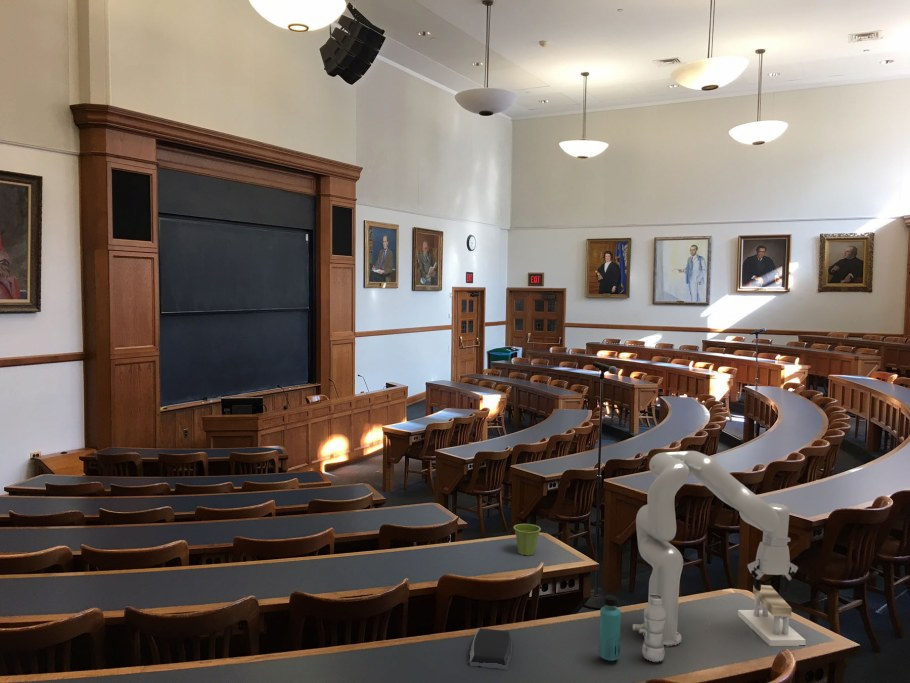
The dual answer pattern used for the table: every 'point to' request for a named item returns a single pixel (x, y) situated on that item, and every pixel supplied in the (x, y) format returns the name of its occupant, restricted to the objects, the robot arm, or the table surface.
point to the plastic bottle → (654, 629)
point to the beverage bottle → (609, 629)
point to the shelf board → (772, 601)
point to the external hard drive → (491, 646)
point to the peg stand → (771, 626)
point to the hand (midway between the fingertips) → (770, 589)
